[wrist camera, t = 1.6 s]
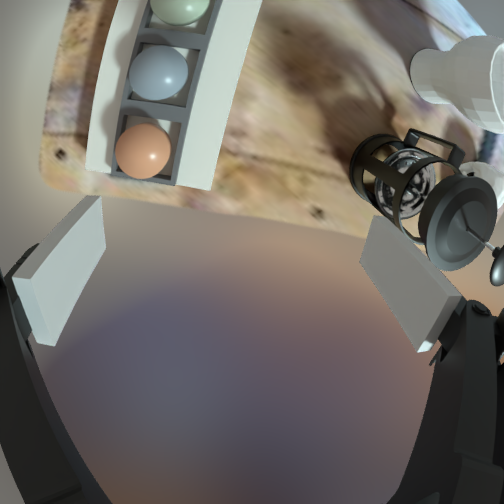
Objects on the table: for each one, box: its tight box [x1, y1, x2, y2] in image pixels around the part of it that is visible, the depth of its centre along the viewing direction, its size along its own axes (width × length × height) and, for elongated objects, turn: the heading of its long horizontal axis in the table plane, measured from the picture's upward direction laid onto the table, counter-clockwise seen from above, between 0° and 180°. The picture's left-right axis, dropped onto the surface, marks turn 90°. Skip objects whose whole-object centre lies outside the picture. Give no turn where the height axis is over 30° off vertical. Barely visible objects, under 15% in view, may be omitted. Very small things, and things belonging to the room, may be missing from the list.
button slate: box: [129, 45, 189, 100], centre depth 22 cm, size 5×5×2 cm
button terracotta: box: [115, 122, 172, 179], centre depth 26 cm, size 5×5×2 cm
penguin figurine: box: [459, 161, 504, 209], centre depth 35 cm, size 6×8×12 cm
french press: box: [349, 128, 504, 286], centre depth 26 cm, size 12×9×23 cm
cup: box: [410, 36, 504, 134], centre depth 23 cm, size 11×11×15 cm
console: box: [85, 0, 262, 191], centre depth 26 cm, size 22×14×6 cm, turn 165°
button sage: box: [150, 0, 210, 26], centre depth 19 cm, size 5×5×2 cm
